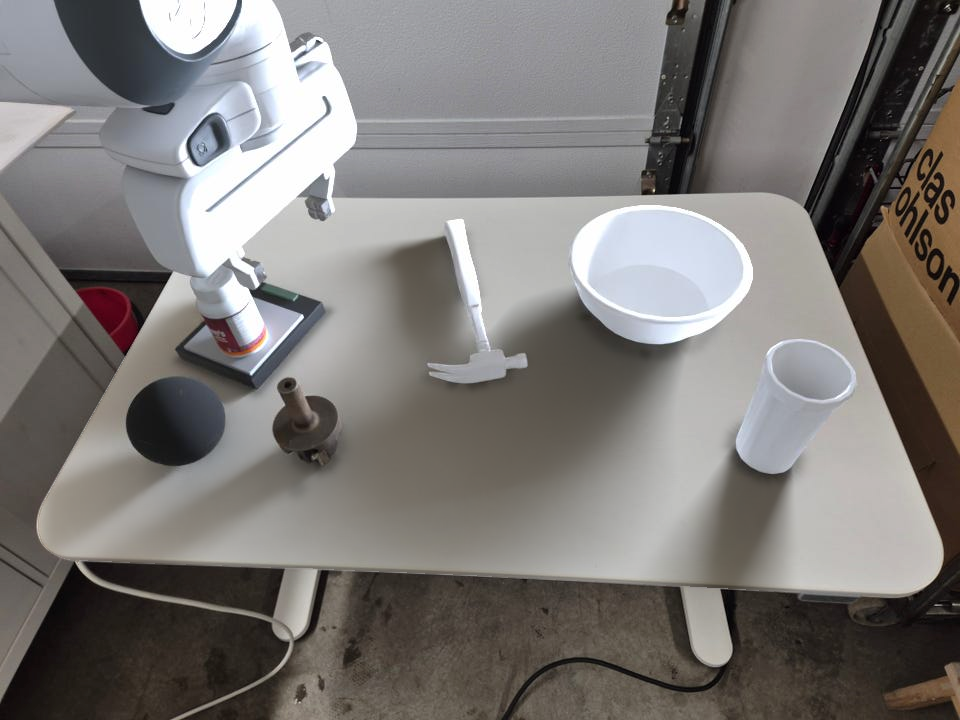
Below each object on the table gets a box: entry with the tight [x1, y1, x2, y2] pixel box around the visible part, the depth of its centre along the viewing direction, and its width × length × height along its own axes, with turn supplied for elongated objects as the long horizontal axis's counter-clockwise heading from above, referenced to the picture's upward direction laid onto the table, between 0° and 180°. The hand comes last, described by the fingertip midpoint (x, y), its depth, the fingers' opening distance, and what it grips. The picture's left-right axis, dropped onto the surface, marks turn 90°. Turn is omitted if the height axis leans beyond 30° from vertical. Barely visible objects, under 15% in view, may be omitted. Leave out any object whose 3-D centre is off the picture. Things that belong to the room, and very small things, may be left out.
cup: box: [735, 338, 858, 475], centre depth 62 cm, size 8×8×14 cm
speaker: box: [125, 375, 227, 467], centre depth 68 cm, size 10×10×10 cm
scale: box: [174, 281, 326, 391], centre depth 82 cm, size 15×13×3 cm
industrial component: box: [271, 376, 342, 466], centre depth 66 cm, size 9×7×12 cm
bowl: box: [568, 205, 753, 345], centre depth 80 cm, size 22×22×8 cm
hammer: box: [427, 218, 528, 384], centre depth 84 cm, size 12×30×3 cm, turn 10°
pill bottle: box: [189, 265, 268, 358], centre depth 75 cm, size 6×6×11 cm
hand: (290, 247), depth 51 cm, fingers open, 8 cm apart
